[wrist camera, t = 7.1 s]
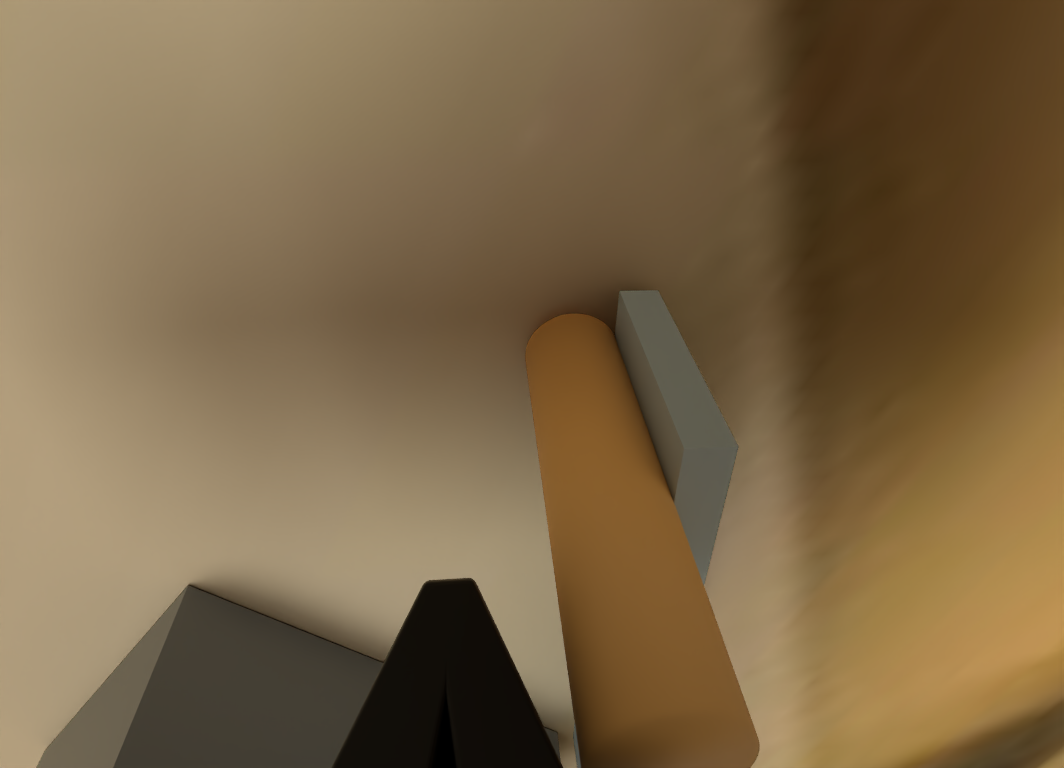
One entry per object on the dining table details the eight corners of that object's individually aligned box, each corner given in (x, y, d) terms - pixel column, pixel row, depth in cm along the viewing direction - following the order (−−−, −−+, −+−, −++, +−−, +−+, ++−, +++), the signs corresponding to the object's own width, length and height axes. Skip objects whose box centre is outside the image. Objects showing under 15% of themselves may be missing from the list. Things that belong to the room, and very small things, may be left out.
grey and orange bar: (596, 734, 24) (652, 1085, 17) (518, 740, 23) (541, 1098, 16) (658, 290, 14) (855, 674, 7) (526, 292, 14) (592, 691, 7)
